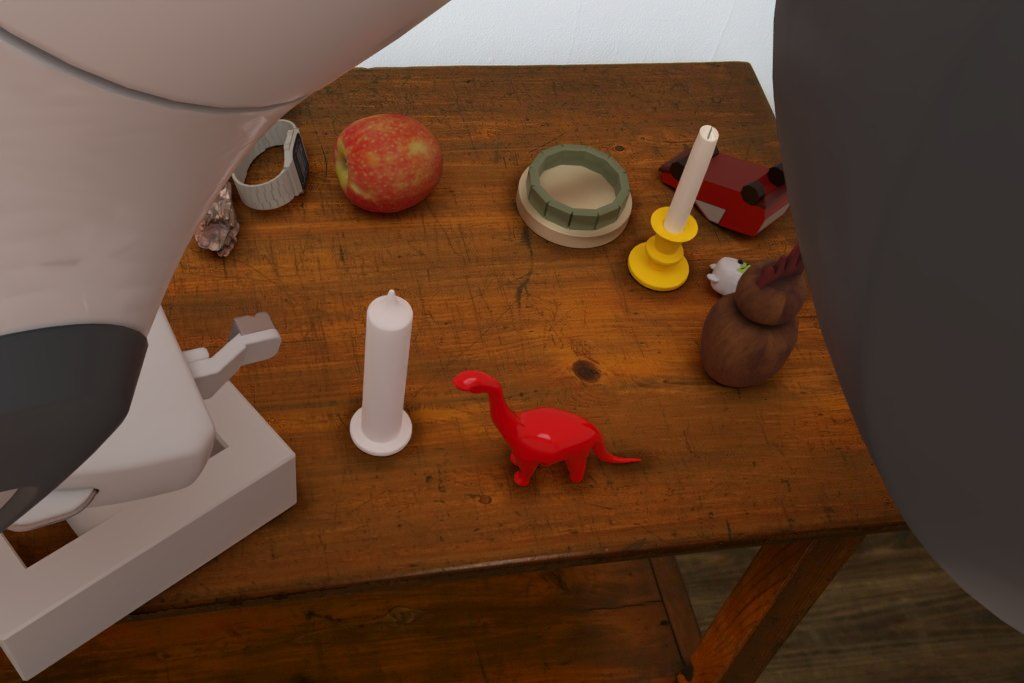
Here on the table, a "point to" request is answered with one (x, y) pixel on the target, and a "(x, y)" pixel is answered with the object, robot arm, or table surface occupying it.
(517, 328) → the table surface
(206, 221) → the tree bark
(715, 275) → the toy
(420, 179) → the apple
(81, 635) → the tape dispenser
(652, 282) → the candle
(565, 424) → the dinosaur
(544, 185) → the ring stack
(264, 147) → the wristwatch
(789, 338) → the wooden figurine
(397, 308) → the candle
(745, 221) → the toy truck
